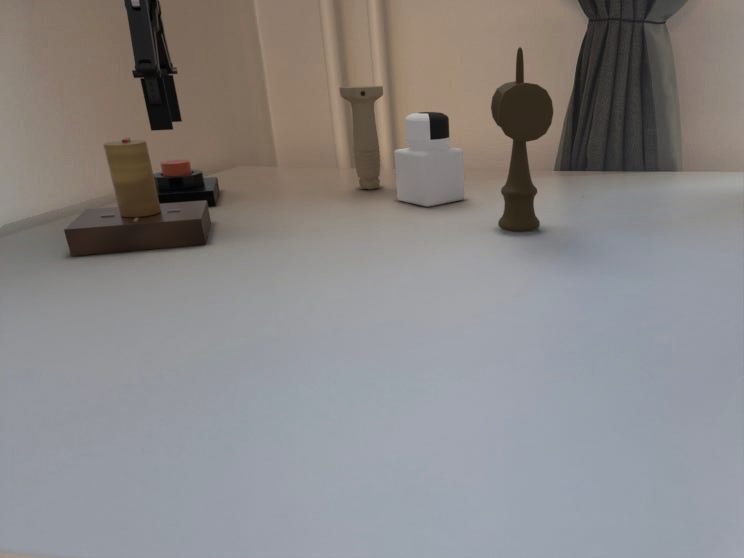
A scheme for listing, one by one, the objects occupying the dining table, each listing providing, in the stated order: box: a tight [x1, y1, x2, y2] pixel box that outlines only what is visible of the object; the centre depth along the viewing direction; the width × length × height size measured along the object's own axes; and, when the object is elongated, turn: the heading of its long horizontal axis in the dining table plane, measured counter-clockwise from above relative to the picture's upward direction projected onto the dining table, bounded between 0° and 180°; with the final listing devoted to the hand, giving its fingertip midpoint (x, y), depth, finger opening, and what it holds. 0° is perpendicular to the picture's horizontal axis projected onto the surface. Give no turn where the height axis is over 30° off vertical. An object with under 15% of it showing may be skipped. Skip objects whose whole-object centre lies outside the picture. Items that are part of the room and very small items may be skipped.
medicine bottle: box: [393, 111, 465, 208], centre depth 96 cm, size 7×7×12 cm
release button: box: [159, 159, 192, 176], centre depth 100 cm, size 4×4×2 cm
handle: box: [339, 85, 384, 191], centre depth 105 cm, size 5×6×15 cm
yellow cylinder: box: [103, 137, 161, 217], centre depth 78 cm, size 4×4×8 cm
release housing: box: [153, 169, 221, 207], centre depth 101 cm, size 10×12×4 cm
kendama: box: [490, 46, 554, 233], centre depth 77 cm, size 6×10×20 cm, turn 6°
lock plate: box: [63, 200, 212, 257], centre depth 80 cm, size 14×11×3 cm
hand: (167, 125), depth 97 cm, fingers open, 11 cm apart
